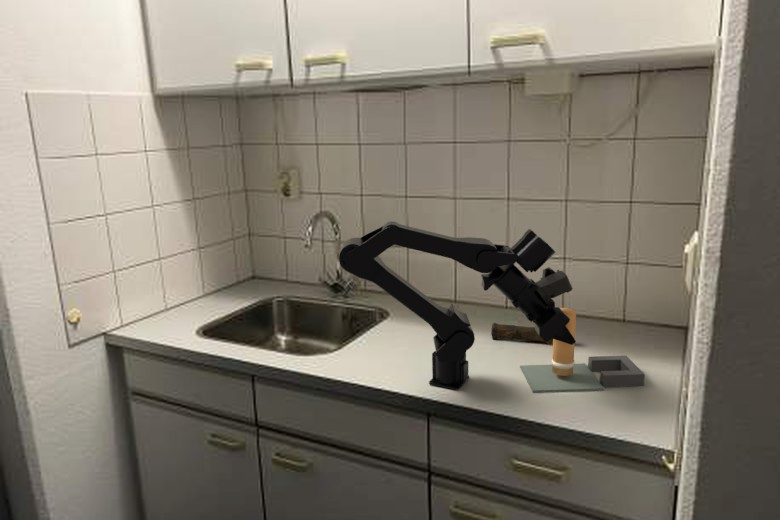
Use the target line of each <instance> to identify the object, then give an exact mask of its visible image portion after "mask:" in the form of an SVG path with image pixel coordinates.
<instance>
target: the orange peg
mask: <svg viewBox="0 0 780 520" xmlns="http://www.w3.org/2000/svg"><path fill="white" fill-rule="evenodd" d="M559 308H560V309H561V310H562V311H563V312H564V313H565V314H566V315H567V316H568V317H569V318H570V321H569V323H568V324H567V325H566V327H567V329H568V330H569V332H570V333H571V334H572V336H573V337H574V339H575V340H576V326H577V325H576V323H577V322H576V320H577V311H576V310H575V309H573V308H569V307H559ZM575 344H576V342H575V343H574V344H573V345H571V344H568V343H565V342H562V341H559V340H555V339H553V345H552V358H551V363H550V365H551V364H552V372H553V373H555V374H557V375H561V376H568V375H571V374H573V367H574V364H575V346H576V345H575Z"/></svg>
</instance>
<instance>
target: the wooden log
mask: <svg viewBox="0 0 780 520" xmlns="http://www.w3.org/2000/svg"><path fill="white" fill-rule="evenodd" d="M490 334H491V338H492V340H494V339H498V340H500V339H506V340H507V339H508V340H518V341H519V340H521V341H528V342H529V341H532V342H541V343H545V344H546V345H548V346H553V339H550V340H549V341H547V342H545V341H544V340H543V339H542V338H541V337H540V336H539V335H538V333H537V332H536V330H535V326H523V325H522V326H520V325H514V324H502V323H501V324H499V323H496V322H493V323H492V324H491V333H490Z"/></svg>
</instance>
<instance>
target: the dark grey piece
mask: <svg viewBox="0 0 780 520" xmlns="http://www.w3.org/2000/svg"><path fill="white" fill-rule="evenodd" d="M587 360H588V363H587V364H588V365H587V367H588V368H589V369H590V371H591V372H599V373H600V377H599V382H600V383H601V385H602V386H603V387H604V388H614V387H615V388H619V387H645V377H646V376H645V373H644V371H642V370H641V369H640V368H639V367H638V365H636V363H634V362H633V361H632V360H631V358H630V357H628V355H602V356H601V355H600V356H594V355H593V356H588V359H587Z"/></svg>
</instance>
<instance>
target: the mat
mask: <svg viewBox="0 0 780 520" xmlns="http://www.w3.org/2000/svg"><path fill="white" fill-rule="evenodd" d="M519 369H520V371H521V372H522V374H523V376H524V378H525V380H526V382H527V384H528V386H529V388H530V389H531V391H532V393H555V392H557V393H559V392H561V393H562V392H588V391H593V392H594V391H605V387H603V386H602V385H601V383H600V380H599V379H598V378H597V376H595V374H594V373H593V371H590V369H589V368H588V365H587V364H586V363H574V367H573V374H571V375H568V376H561V375H557V374H555V373H553V372H552V364H551V363H550V364H530V365H529V364H528V365H527V364H526V365H525V364H524V365H519Z"/></svg>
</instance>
